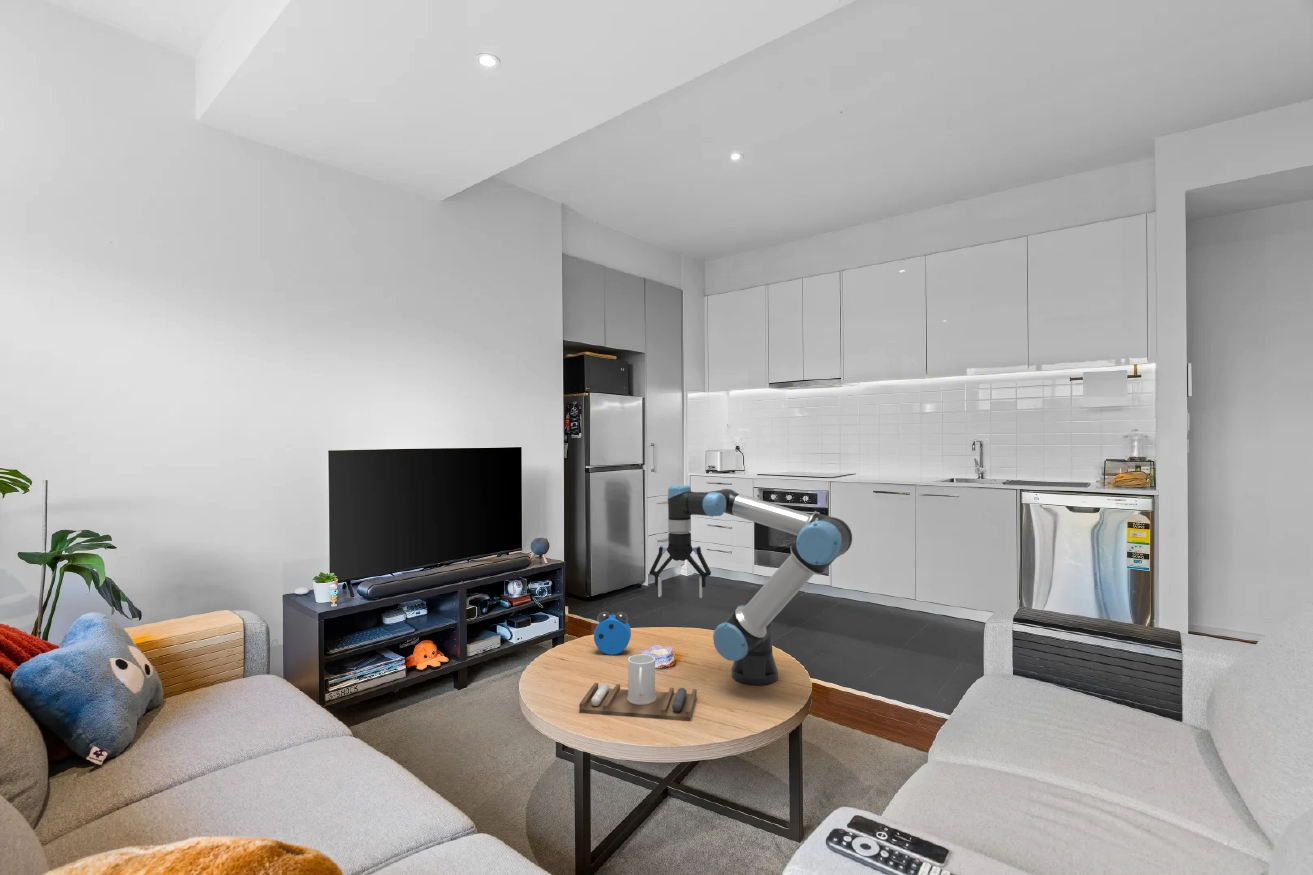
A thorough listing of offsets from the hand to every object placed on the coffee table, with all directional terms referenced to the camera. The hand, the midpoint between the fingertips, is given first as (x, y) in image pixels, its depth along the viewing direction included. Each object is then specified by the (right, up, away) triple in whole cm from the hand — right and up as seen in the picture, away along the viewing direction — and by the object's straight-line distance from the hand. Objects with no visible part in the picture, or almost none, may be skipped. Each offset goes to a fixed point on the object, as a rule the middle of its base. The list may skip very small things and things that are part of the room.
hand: (680, 596), depth 206 cm
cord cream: (-25, -26, -20) cm, 41 cm away
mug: (-12, -26, -22) cm, 36 cm away
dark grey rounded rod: (-1, -25, -24) cm, 35 cm away
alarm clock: (-24, -27, +24) cm, 43 cm away
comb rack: (-13, -26, -22) cm, 36 cm away
